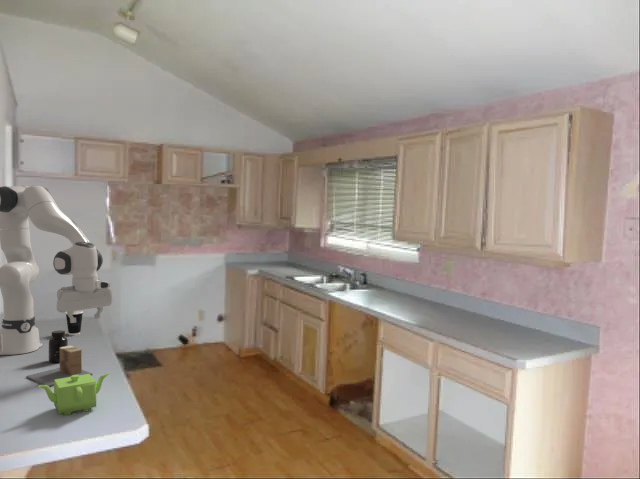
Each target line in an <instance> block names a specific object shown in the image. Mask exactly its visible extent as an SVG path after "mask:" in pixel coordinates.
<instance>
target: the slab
mask: <svg viewBox="0 0 640 479" xmlns="http://www.w3.org/2000/svg"><path fill="white" fill-rule="evenodd" d="M82 366H83V365H82V348H80V347H76V346H74V345H68V346H65V347H60V363H59V368H60V371H61V372H63V373H66V374H68V375H75V374H79V373H82V370H83V369H82Z"/></svg>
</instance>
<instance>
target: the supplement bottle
mask: <svg viewBox="0 0 640 479" xmlns="http://www.w3.org/2000/svg"><path fill="white" fill-rule="evenodd" d="M50 335H51V338H49V339H48V362H49V363H52V364H60V347H65V346H69V344H68V342H69V341H68V340H69V339H68V338H67V337H65V336H66V331H65V330H62V329H61V330H54V331H51V334H50Z"/></svg>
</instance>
